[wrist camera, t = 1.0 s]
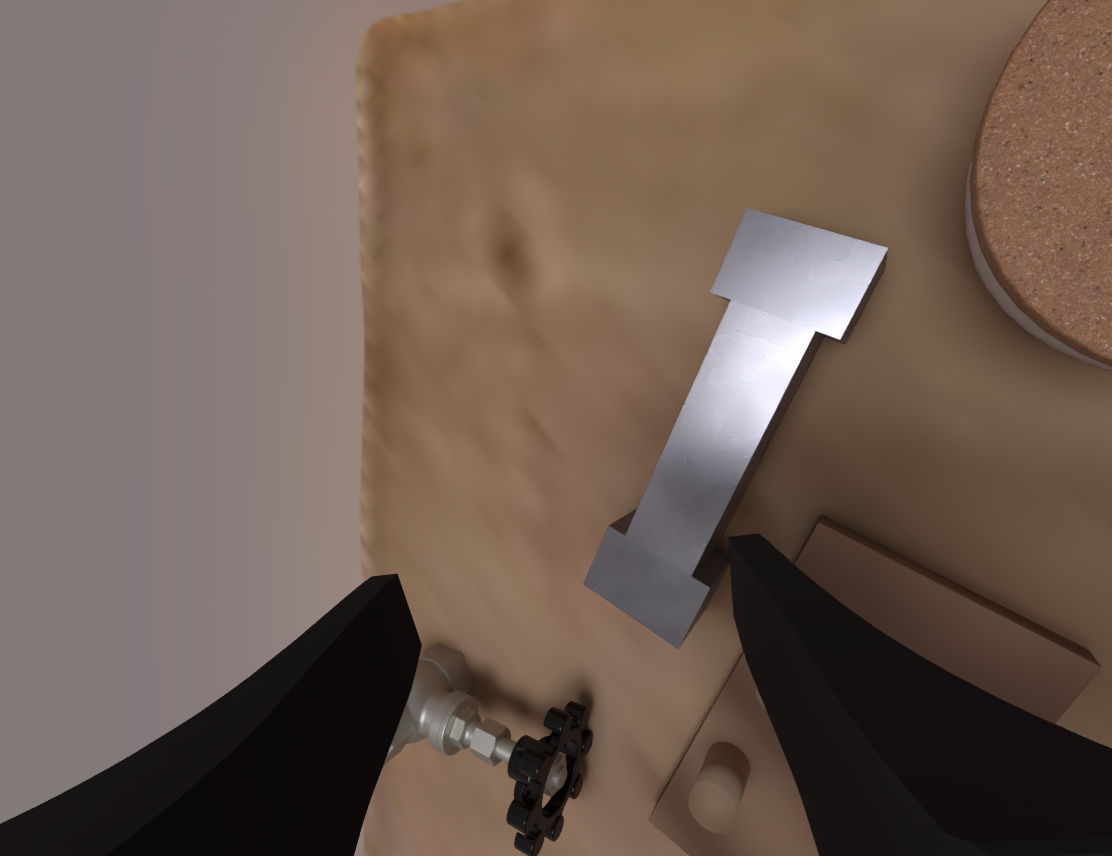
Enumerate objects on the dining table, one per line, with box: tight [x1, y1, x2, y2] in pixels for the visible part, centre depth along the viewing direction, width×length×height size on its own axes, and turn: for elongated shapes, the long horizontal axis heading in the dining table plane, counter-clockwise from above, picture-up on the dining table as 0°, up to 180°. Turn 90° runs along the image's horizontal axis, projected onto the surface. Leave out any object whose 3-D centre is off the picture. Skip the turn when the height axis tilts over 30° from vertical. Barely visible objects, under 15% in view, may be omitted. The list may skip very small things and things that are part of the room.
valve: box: [384, 643, 593, 856], centre depth 29 cm, size 7×7×12 cm
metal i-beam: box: [584, 208, 888, 649], centre depth 22 cm, size 16×5×4 cm, turn 158°
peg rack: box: [648, 515, 1102, 856], centre depth 21 cm, size 17×9×4 cm, turn 158°
